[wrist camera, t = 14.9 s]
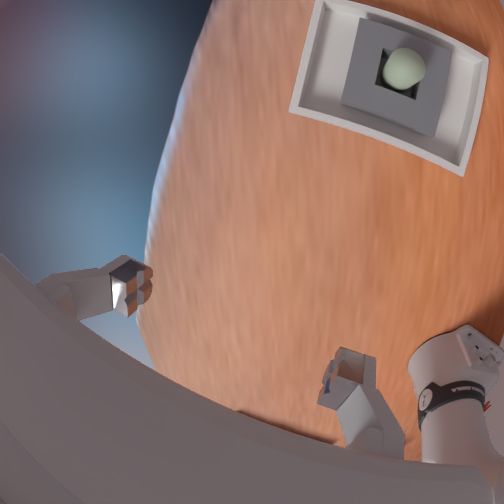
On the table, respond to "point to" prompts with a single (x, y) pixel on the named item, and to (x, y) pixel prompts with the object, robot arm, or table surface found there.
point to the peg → (402, 70)
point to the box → (384, 100)
